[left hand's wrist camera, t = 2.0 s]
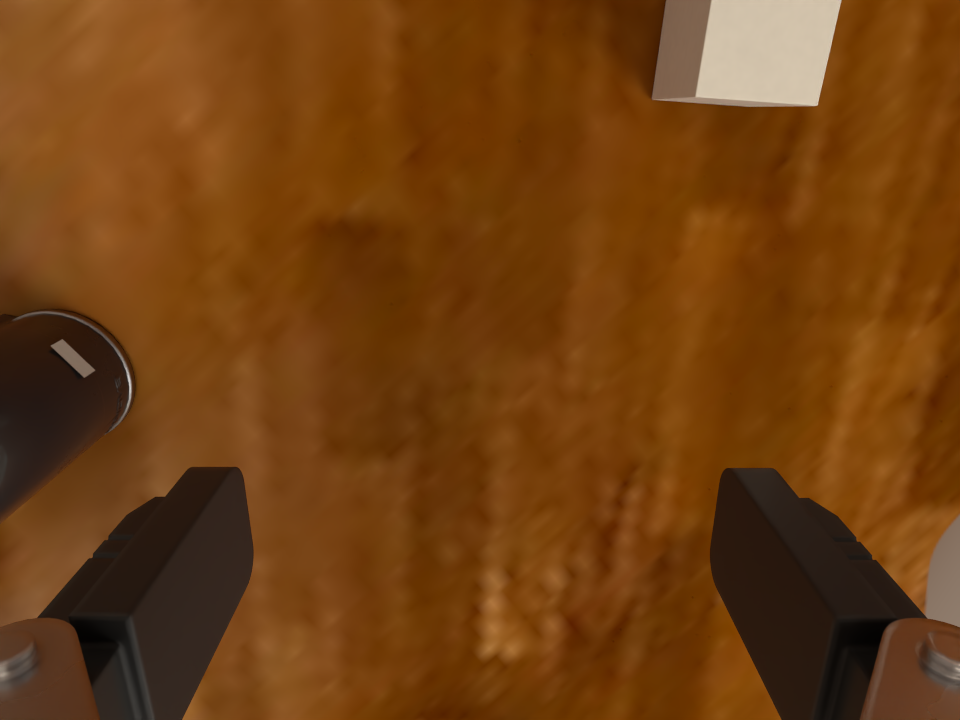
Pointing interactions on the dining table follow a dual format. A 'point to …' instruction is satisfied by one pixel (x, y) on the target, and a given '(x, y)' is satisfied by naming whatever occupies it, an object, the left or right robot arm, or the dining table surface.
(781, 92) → the bar
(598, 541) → the dining table surface
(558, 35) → the dining table surface
